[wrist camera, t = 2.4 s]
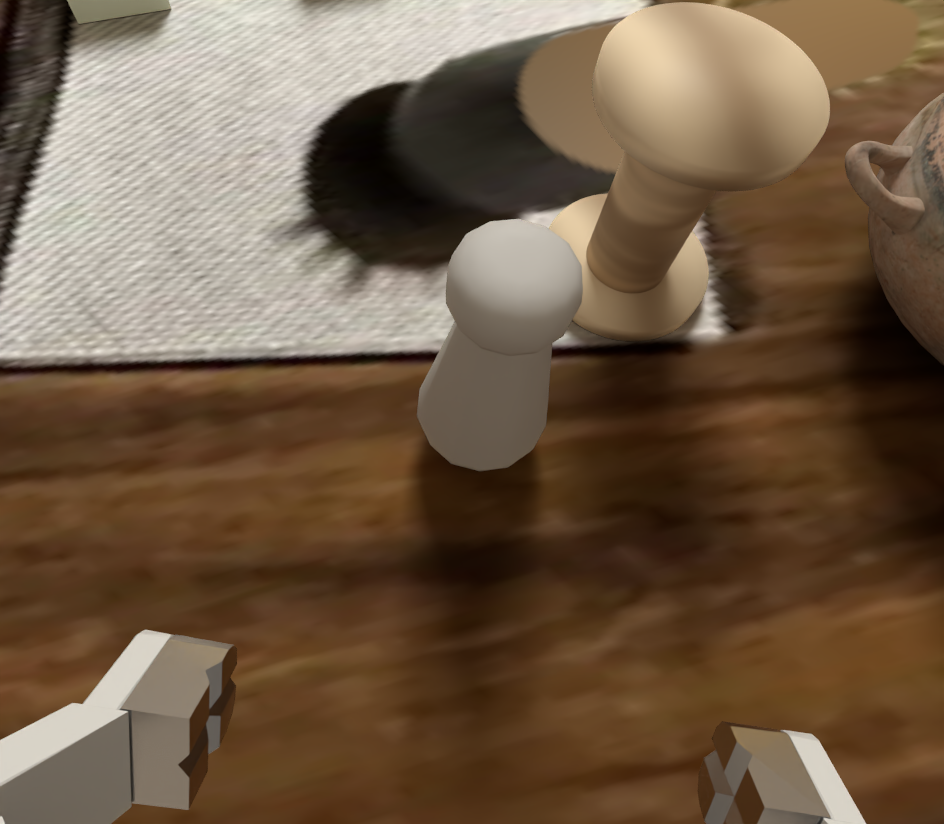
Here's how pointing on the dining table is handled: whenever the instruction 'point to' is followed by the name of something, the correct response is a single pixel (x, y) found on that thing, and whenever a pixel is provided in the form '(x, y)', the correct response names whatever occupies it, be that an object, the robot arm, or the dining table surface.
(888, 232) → the cooking pot
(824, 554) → the dining table surface
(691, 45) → the bobbin
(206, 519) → the dining table surface
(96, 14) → the notched board
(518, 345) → the salt shaker
